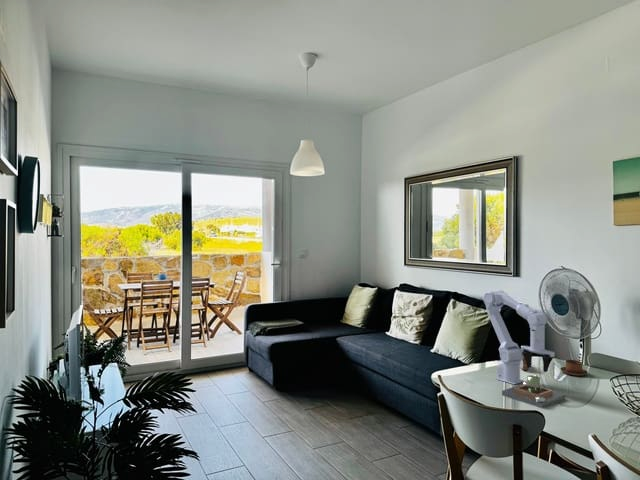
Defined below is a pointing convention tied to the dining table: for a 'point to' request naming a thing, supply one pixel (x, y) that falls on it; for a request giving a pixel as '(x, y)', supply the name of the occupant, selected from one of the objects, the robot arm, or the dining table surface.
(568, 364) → the cup and saucer
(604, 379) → the dining table surface
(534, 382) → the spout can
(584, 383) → the dining table surface
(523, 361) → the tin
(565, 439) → the dining table surface
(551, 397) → the grey square slab
